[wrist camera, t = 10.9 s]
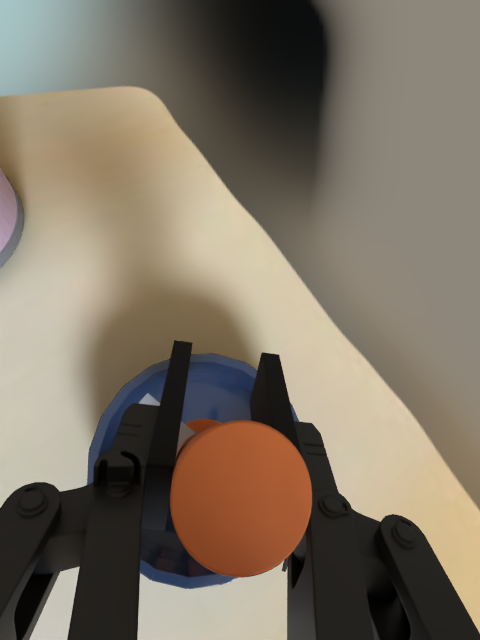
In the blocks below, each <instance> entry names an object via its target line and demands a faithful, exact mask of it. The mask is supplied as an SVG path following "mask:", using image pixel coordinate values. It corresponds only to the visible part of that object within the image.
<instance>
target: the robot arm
mask: <svg viewBox="0 0 480 640" xmlns="http://www.w3.org/2000/svg"><path fill="white" fill-rule="evenodd" d="M191 350H192V343H191V342H184V341H177V340H175V341H174V345H173V349H172V354H171V358H170V362H169V367H168V371H167V376H166V380H165V384H164V389H163V393H162V397H161V402H160V406H156V405H148V404H140V403H132V404H131V405H130V406H129V407H128V408H127V409H126V410H125V411H124V413H123V416H122V419H121V421H120V425H119V427H118V430H117V434H116V436H115V439H114V442H113V444H112V447H111V449H110V450H108V451H106V452H104V453H103V454H101V455H100V456H99V457H98V458H97V460H96V462H95V464H94V471H93V482H92V483H90V484H88V485H86V486H84V487H81V488H77V489H73V490H67V491H62V492H60V491H59V490H58V489H57V488H56V487H55V486H54V485H51V484H48V483H46V482H35V483H31V484H28V485H24V486H23V487H21V488H19V489H17V490H16V491H14V492H13V493H12V494H11V495H10V496H9V497H8V498H7V499H6V501H5V502H4V504H3V505H2V507H1V508H0V640H29V638H30V636H31V634H32V632H33V630H34V628H35V625H36V623H37V621H38V619H39V617H40V614H41V612H42V610H43V608H44V606H45V603H46V601H47V599H48V597H49V595H50V592H51V590H52V588H53V586H54V584H55V581H56V579H57V577H58V575H59V573H60V571H64V570H67V569H71V568H75V567H79V566H80V569H79V575H78V580H77V586H76V592H75V598H74V604H73V610H72V616H71V622H70V628H69V633H68V639H67V640H137V632H138V606H139V580H140V554H141V529H142V528H143V529H155V530H165V526H166V520H167V513H168V507H169V500H170V492H171V484H172V476H173V471H174V467H175V460H176V453H177V446H178V439H179V432H180V426H181V419H182V412H183V405H184V398H185V391H186V384H187V378H188V371H189V364H190V357H191ZM250 412H251V421H255V422H259V423H262V424H265V425H268V426H270V427H272V428H274V429H276V430H277V431H279V432H280V433H282V434H283V435H284V436H285V437H286V438H287V439H289V440H290V441H291V442H292V444H293V445H294V446H295V447H296V448H297V450H298V451H299V453H300V455H301V456H302V458H303V460H304V462H305V464H306V467H307V470H308V473H309V476H310V481H311V487H312V508H311V515H310V518H309V522H308V525H307V528H306V531H305V533H304V535H303V537H302V539H301V541H300V543H299V544H298V545H297V547H296V548H295V550H294V551H293V552H292V553H291V554H290V555H289V556H288V557H287V558H286V559H285V561H284V563H283V568H282V571H284V572H285V571H286V569H287V566H288V588H287V640H480V633H479V632H478V630H477V628H476V626H475V624H474V623H473V621H472V619H471V617H470V616H469V614H468V612H467V610H466V608H465V607H464V605H463V603H462V601H461V600H460V598H459V596H458V594H457V592H456V591H455V589H454V587H453V585H452V583H451V582H450V580H449V578H448V576H447V575H446V573H445V571H444V569H443V567H442V566H441V564H440V562H439V560H438V559H437V557H436V555H435V553H434V551H433V550H432V548H431V546H430V544H429V543H428V541H427V539H426V537H425V535H424V534H423V533H422V531H421V530H420V529H419V527H418V526H416V525H415V524H414V523H413V522H412V521H410V520H408V519H406V518H405V517H403V516H399V515H394V514H392V515H388V516H385V517H384V518H383V519H382V521H381V522H379V521H377V520H374V519H372V518H369V517H367V516H364V515H362V514H360V513H358V512H356V511H354V510H353V509H352V508H351V505H350V504H349V502H348V501H347V500H346V498H345V497H344V496H342V495H341V494H339V492H338V490H337V486H336V483H335V480H334V477H333V473H332V470H331V467H330V463H329V460H328V457H327V454H326V450H325V448H324V444H323V440H322V437H321V434H320V433H319V431H318V430H317V429H316V428H315V426H314V425H313V424H312V423H305V422H297V421H294V418H293V414H292V410H291V405H290V401H289V397H288V392H287V388H286V383H285V379H284V375H283V370H282V366H281V362H280V357H279V355H276V354H269V353H262V354H261V358H260V362H259V366H258V370H257V374H256V378H255V382H254V386H253V390H252V394H251V398H250Z"/></svg>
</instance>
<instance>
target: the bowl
mask: <svg viewBox="0 0 480 640" xmlns="http://www.w3.org/2000/svg"><path fill="white" fill-rule="evenodd" d="M169 362H170V359H169V360H166V361H163V362H160V363H157V364H154V365H152V366H150V367H149V368H147V369H146V370H144V371H143V372H142V373H140V374H139V375H138V376H136V377H135V378H134V379H132V380H131V381H130V382H128V383H127V384H126V385H124V387H122V388H121V390H120V391H119V393H118V394H117V395H116V397H115V398H114V399H113V401H112V402H111V403H110V405H109V406H108V407H107V409H106V410H105V411H104V413H103V414H102V416H101V418H100V421H99V424H98V426H97V429H96V432H95V435H94V438H93V440H92V443H91V446H90V449H89V455H88V478H87V485H88V484H90V483H92V482H93V471H94V464H95V462H96V460H97V458H98V457H99V456H100V455H101V454H103V453H104V452H106V451H108V450H110V449H111V447H112V444H113V442H114V439H115V436H116V434H117V430H118V427H119V425H120V421H121V419H122V416H123V413H124V411H125V410H126V409H127V408H128V407H129V406H130V405H131V404H132V403H139V402H140V401H141V400H142V399H143V398H144V396H145V395H146V394H147V393H149V394H150V395H151V396H152V397H153V398H155V399H156V400H157V401H158V402H159V403H160V402H161V397H162V393H163V389H164V384H165V380H166V376H167V371H168V367H169ZM256 374H257V370H256V369H254V368H253V367H251V366H250V365H248V364H247V363H244V362H242V361H239V360H235V359H232V358H228V357H225V356H221V355H217V354H191V357H190V364H189V371H188V378H187V384H186V391H185V398H184V405H183V412H182V419H181V421H182V422H183V423H184V424H185V423H187V422H190V421H193V420H197V419H211V420H216V421H218V422H221V423H225V422H230V421H238V420H247V421H251V412H250V398H251V394H252V390H253V386H254V382H255V378H256ZM290 405H291V403H290ZM291 410H292V414H293V418H294V421H297V422H299V420H298V418H297V416H296V413H295V411H294V408H293V406H292V405H291ZM140 573H141V574H142V575H144V576H145V577H147V578H148V579H150V580H151V579H152V581H156V582H160V583H164V584H168V585H172V586H177V587H181V588H185V589H193V588H201V587H209V586H216V585H224V584H225V583H226V584H227V583H229V582H231V581H233V580H235V579H237V578H239V577H230V576H225V575H221V574H218V573H215V572H213V571H211V570H209V569H207V568H205V567H204V566H203V565H201V564H200V563H199V562H197V561H196V560H195V559H194V558H193V557H192V556H191V555H190V554H189V553H188V551H187V550H186V549H185V547H184V546H183V544H182V543H181V541H180V539H179V537H178V535H177V533H176V530H175V528H174V524H173V520H172V516H171V509H170V500H169V507H168V513H167V520H166V526H165V530H155V529H143V528H142V529H141V554H140Z"/></svg>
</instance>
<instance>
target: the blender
mask: <svg viewBox="0 0 480 640" xmlns="http://www.w3.org/2000/svg"><path fill="white" fill-rule="evenodd" d="M23 225H24V213H23V207H22V203H21V200H20V198H19V196H18V194H17V192H16V190H15V189H14V187H13V186H12V184H11V182H10V181H9V179H8V178H7V177H6V175H5V174H4V173H3V171H2V170H1V168H0V268H1V267H2V266H3V265H4V264H5V263H6V262H7V261H8V259H9V258H10V257H11V255H12V254H13V252H14V251H15V249H16V247H17V245H18V243H19V241H20V238H21V235H22V231H23Z"/></svg>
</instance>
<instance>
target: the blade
mask: <svg viewBox="0 0 480 640" xmlns="http://www.w3.org/2000/svg"><path fill="white" fill-rule="evenodd" d="M139 403H140V404H148V405H156V406H160V403H159V402H158V401H157V400H156V399H155V398H153V397H152V396H151V395H150V394H149V393H147V394H146V395H145V396H144V398H143V399H142V400H141V401H140V402H139ZM311 508H312V487H311V481H310V476H309V473H308V470H307V467H306V464H305V462H304V460H303V458H302V456H301V455H300V453H299V451H298V450H297V448H296V447H295V446H294V445H293V444H292V442H291V441H290V440H289V439H287V438H286V437H285V436H284V435H283V434H282V433H280V432H279V431H277V430H276V429H274V428H272V427H270V426H268V425H265V424H262V423H259V422H255V421H247V420H238V421H230V422H225V423H221V422H218V421H216V420H211V419H197V420H193V421H190V422H187V423H185V424H184V423H183V422H182V421H181V426H180V432H179V439H178V446H177V453H176V460H175V467H174V471H173V476H172V484H171V492H170V509H171V516H172V520H173V524H174V528H175V530H176V533H177V535H178V537H179V539H180V541H181V543H182V544H183V546H184V547H185V549H186V550H187V551H188V553H189V554H190V555H191V556H192V557H193V558H194V559H195V560H196V561H197V562H199V563H200V564H201V565H203V566H204V567H205V568H207V569H209V570H211V571H213V572H215V573H218V574H221V575H225V576H230V577H250V576H255V575H259V574H262V573H264V572H267V571H269V570H271V569H273V568H274V567H276V566H278V565H279V564H280V563H282V562H283V561H284V560H285V559H286V558H287V557H288V556H289V555H290V554H291V553H292V552H293V551H294V550H295V548H296V547H297V545H298V544H299V543H300V541H301V539H302V537H303V535H304V533H305V531H306V528H307V525H308V522H309V518H310V515H311Z"/></svg>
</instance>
